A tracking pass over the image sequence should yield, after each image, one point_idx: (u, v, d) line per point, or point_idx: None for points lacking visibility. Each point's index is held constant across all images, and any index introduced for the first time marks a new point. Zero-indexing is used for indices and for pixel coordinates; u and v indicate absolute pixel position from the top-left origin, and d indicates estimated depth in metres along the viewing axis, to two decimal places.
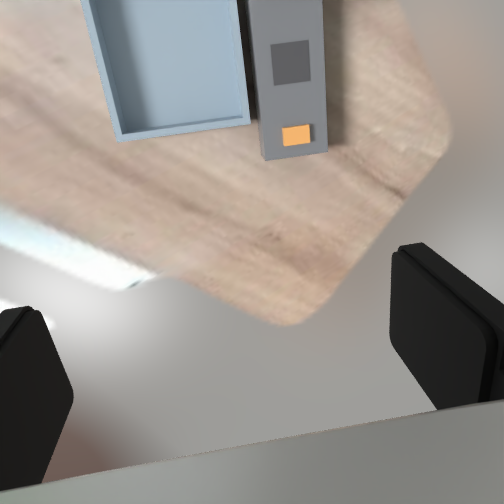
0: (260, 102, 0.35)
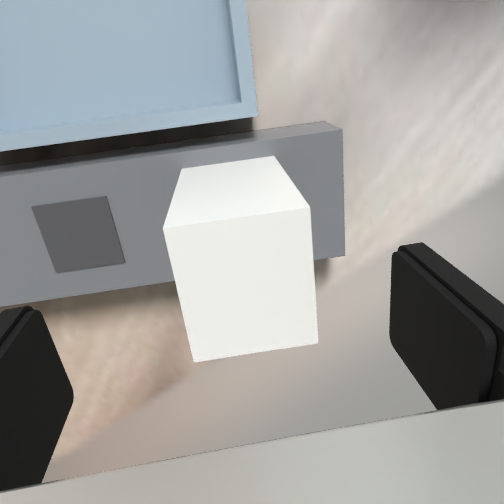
0: None
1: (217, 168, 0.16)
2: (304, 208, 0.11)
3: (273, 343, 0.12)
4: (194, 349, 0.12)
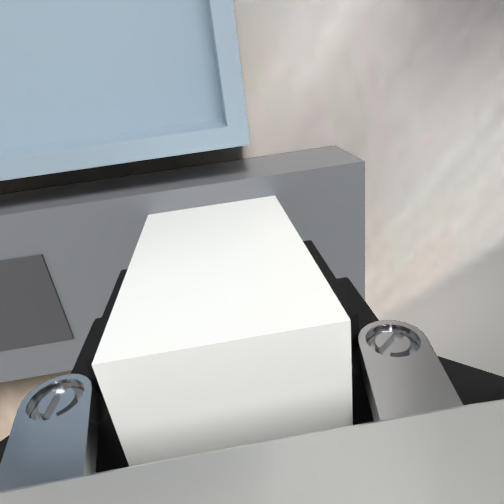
0: None
1: (197, 216, 0.12)
2: (341, 322, 0.06)
3: None
4: None
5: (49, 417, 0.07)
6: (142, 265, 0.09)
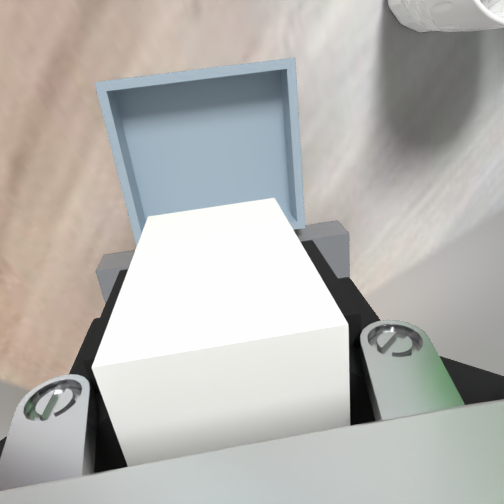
0: None
1: (196, 218, 0.12)
2: (339, 327, 0.06)
3: None
4: None
5: (47, 418, 0.07)
6: (142, 267, 0.09)
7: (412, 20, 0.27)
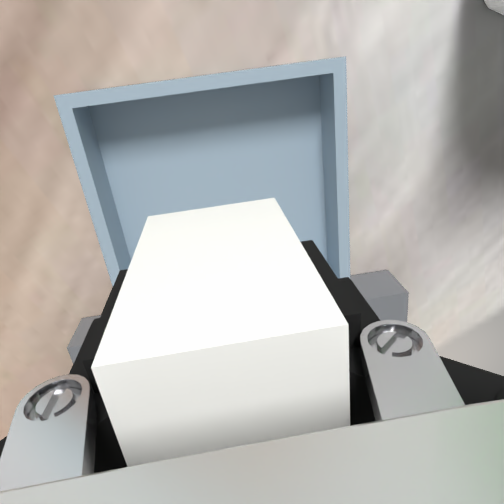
0: None
1: (196, 218, 0.12)
2: (338, 327, 0.06)
3: None
4: None
5: (47, 418, 0.07)
6: (141, 267, 0.09)
7: None
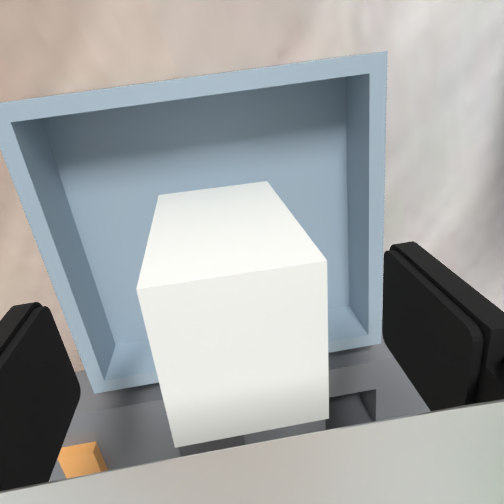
0: (138, 404, 0.18)
1: (201, 196, 0.14)
2: (320, 262, 0.08)
3: (274, 421, 0.10)
4: (175, 432, 0.10)
5: None
6: (161, 229, 0.11)
7: None
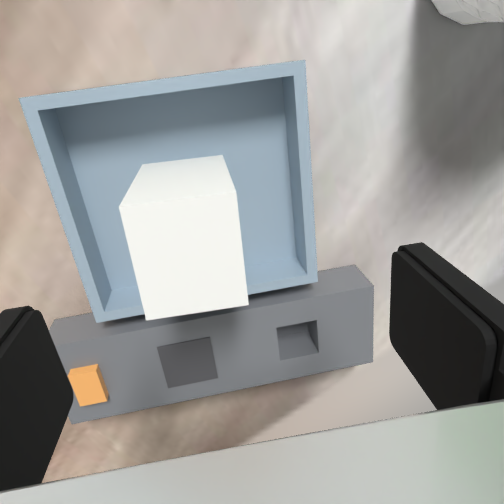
0: (131, 332, 0.23)
1: (172, 164, 0.19)
2: (231, 193, 0.14)
3: (211, 304, 0.15)
4: (146, 309, 0.15)
5: None
6: (140, 181, 0.16)
7: (460, 8, 0.20)
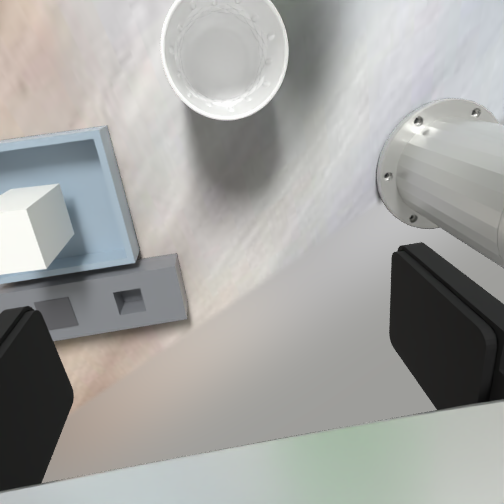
0: (15, 292, 0.37)
1: (25, 189, 0.33)
2: (23, 209, 0.27)
3: (25, 268, 0.29)
4: None
5: None
6: None
7: None
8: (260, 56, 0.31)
